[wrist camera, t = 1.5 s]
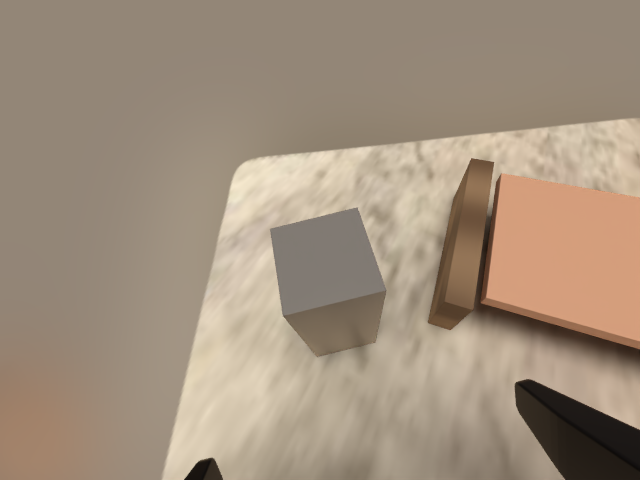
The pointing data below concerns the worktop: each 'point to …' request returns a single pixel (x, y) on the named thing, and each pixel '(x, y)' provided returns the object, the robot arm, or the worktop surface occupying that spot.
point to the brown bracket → (462, 247)
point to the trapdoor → (565, 257)
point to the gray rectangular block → (329, 281)
